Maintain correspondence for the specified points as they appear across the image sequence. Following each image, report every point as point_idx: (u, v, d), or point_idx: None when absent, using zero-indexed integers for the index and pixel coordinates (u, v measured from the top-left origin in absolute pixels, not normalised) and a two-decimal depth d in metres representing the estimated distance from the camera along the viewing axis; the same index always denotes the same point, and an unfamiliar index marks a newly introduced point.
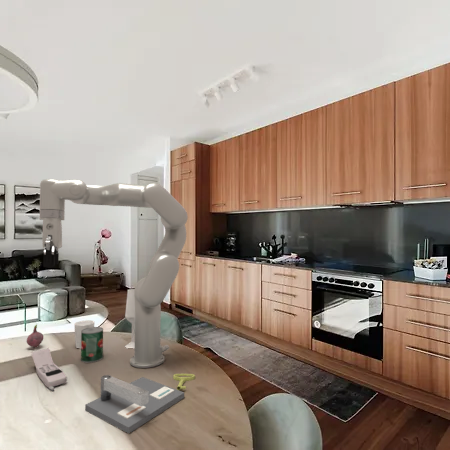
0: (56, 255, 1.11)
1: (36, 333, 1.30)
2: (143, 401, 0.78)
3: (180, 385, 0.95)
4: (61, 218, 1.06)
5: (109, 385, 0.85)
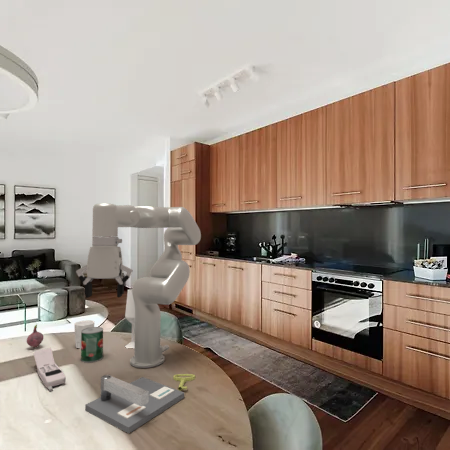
0: (91, 286, 0.99)
1: (36, 333, 1.30)
2: (143, 401, 0.78)
3: (181, 385, 0.95)
4: None
5: (109, 385, 0.85)
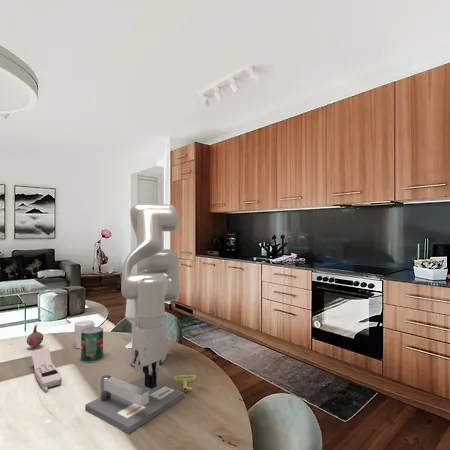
0: None
1: (36, 333, 1.30)
2: (143, 401, 0.78)
3: (186, 386, 0.95)
4: None
5: (109, 385, 0.85)
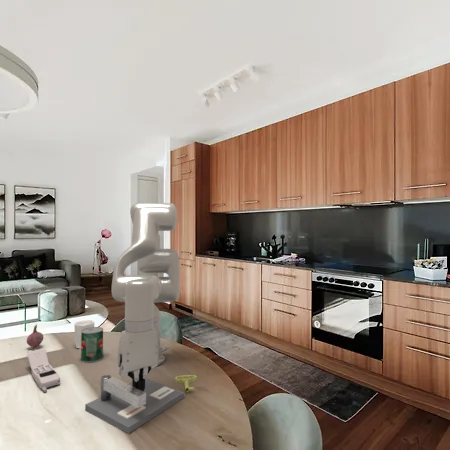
0: None
1: (36, 333, 1.30)
2: (140, 402, 0.78)
3: (188, 386, 0.94)
4: None
5: (108, 385, 0.85)
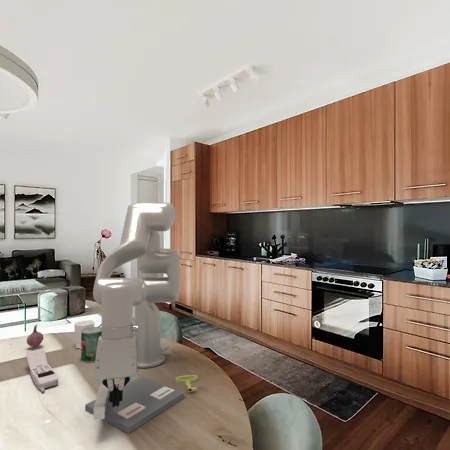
0: (116, 389, 0.80)
1: (36, 333, 1.30)
2: (96, 415, 0.72)
3: (190, 387, 0.94)
4: None
5: None
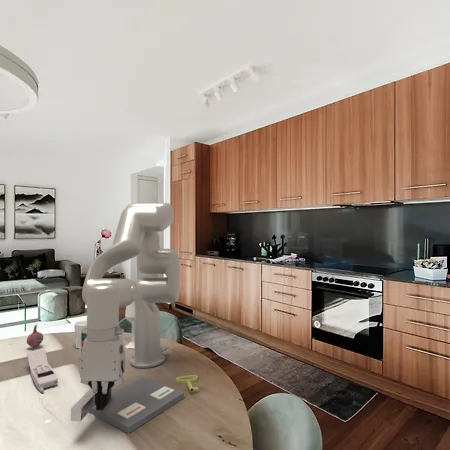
0: None
1: (36, 333, 1.30)
2: (73, 416, 0.72)
3: (192, 387, 0.94)
4: None
5: None
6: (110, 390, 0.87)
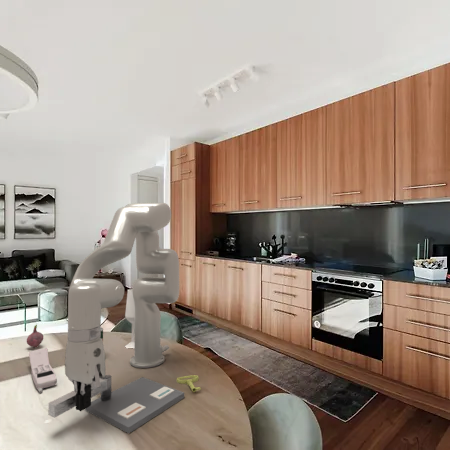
0: None
1: (36, 333, 1.30)
2: (50, 411, 0.74)
3: (194, 387, 0.94)
4: (100, 335, 0.80)
5: None
6: (108, 391, 0.87)
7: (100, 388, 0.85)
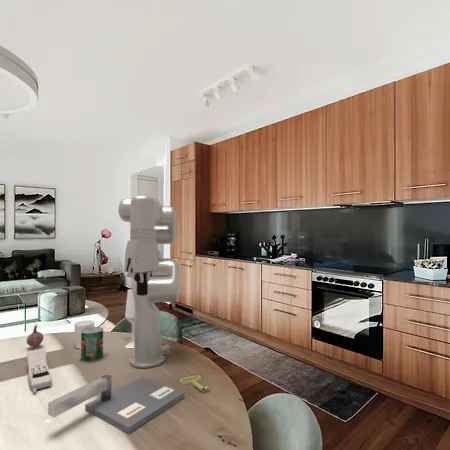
0: None
1: (36, 333, 1.30)
2: (49, 411, 0.74)
3: (202, 386, 0.95)
4: None
5: None
6: (108, 391, 0.87)
7: (100, 388, 0.85)
